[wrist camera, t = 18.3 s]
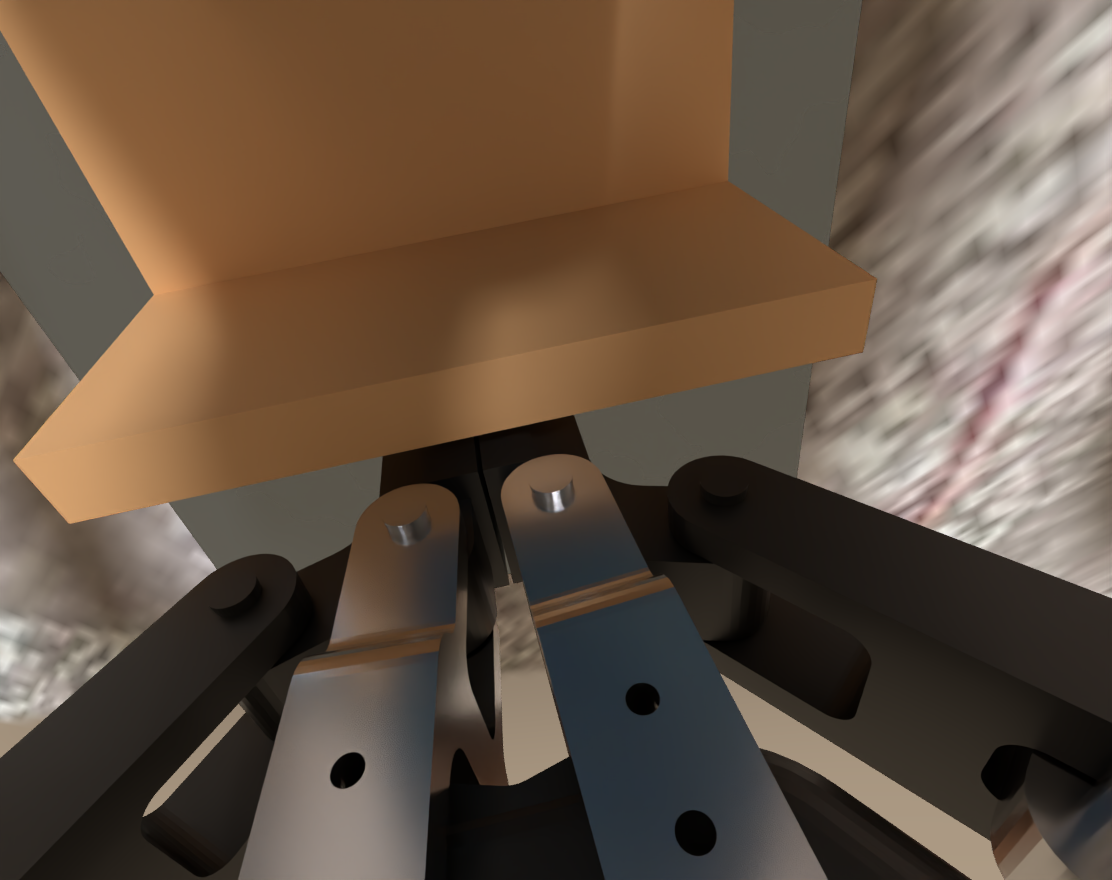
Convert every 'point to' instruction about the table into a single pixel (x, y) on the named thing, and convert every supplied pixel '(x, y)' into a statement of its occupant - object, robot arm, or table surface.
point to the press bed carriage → (405, 229)
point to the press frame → (608, 434)
